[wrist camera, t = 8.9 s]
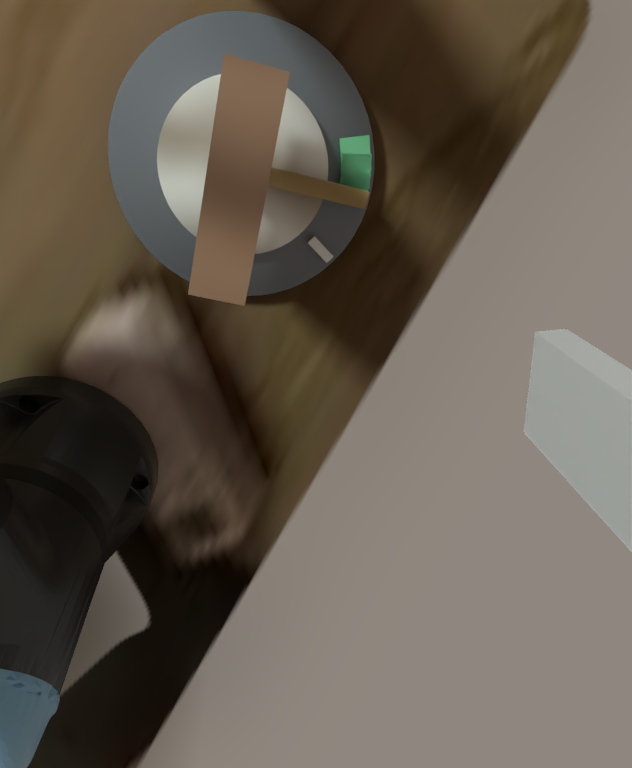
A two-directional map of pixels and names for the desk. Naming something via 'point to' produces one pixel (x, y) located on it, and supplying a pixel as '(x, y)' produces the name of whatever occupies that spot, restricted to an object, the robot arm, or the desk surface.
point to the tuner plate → (204, 59)
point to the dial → (243, 172)
